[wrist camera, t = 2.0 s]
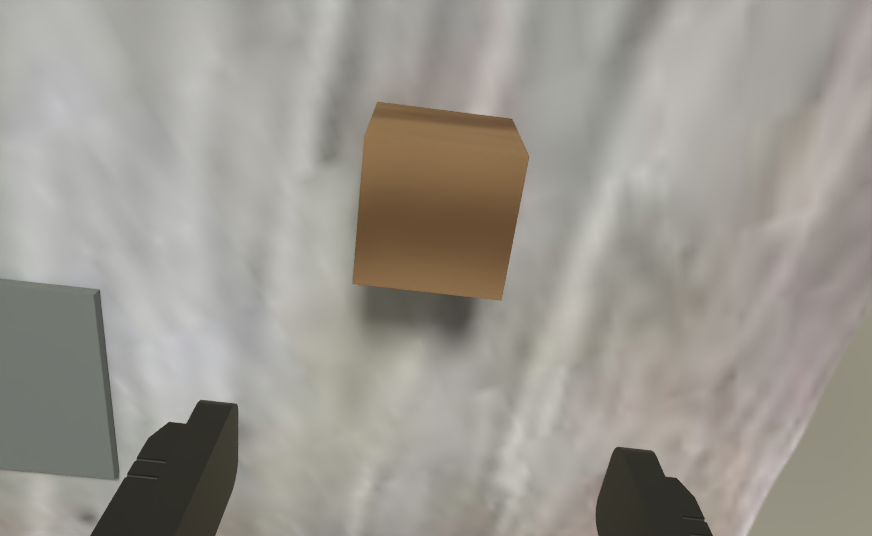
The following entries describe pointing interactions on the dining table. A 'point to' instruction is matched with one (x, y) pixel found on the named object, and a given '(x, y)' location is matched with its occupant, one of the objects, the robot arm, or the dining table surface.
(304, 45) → the dining table surface
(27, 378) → the coaster
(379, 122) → the walnut cube
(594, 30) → the dining table surface
